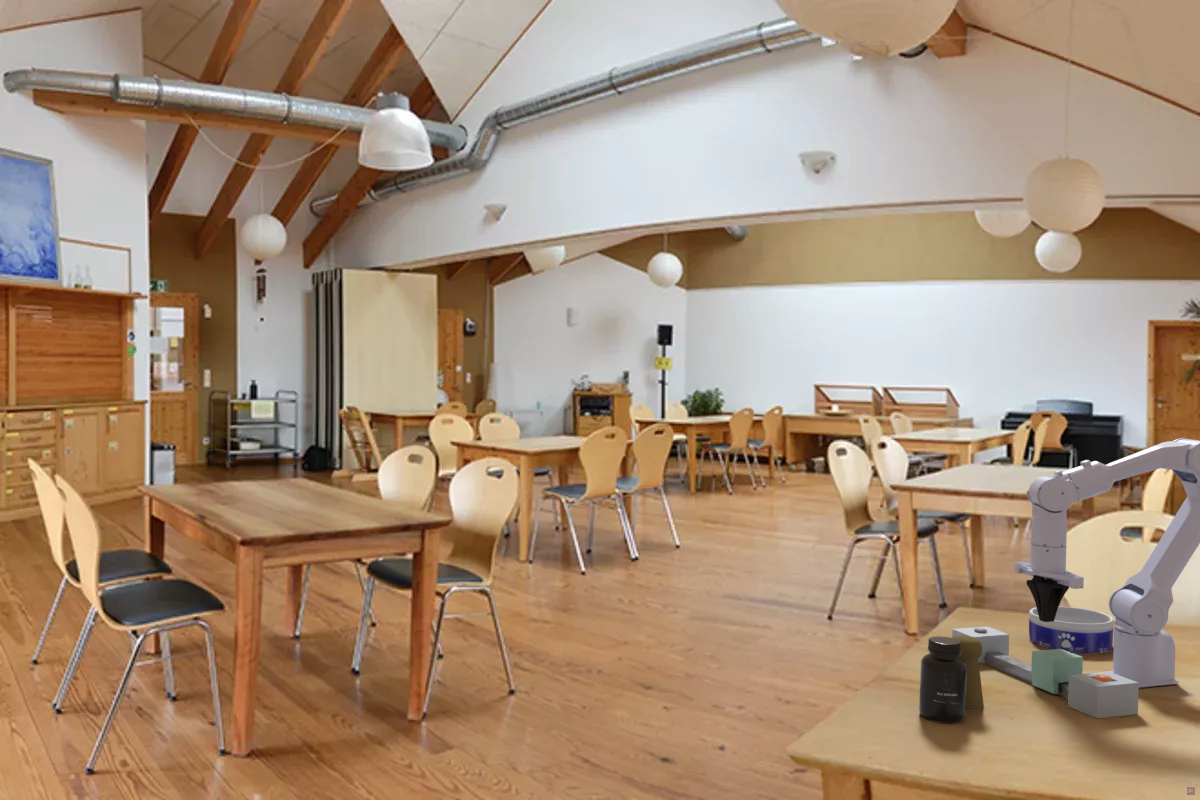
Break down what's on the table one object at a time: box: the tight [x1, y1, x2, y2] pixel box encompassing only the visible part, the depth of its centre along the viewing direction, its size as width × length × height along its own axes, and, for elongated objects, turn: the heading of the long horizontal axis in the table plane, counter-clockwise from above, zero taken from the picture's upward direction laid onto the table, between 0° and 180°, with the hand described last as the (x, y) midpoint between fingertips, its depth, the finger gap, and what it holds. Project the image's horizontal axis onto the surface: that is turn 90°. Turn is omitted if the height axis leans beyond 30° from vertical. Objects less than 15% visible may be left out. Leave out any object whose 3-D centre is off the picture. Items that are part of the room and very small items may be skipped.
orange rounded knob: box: [1096, 674, 1111, 682], centre depth 153 cm, size 2×2×4 cm
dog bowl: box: [1028, 605, 1115, 654], centre depth 193 cm, size 15×15×6 cm
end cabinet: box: [1067, 670, 1140, 719], centre depth 153 cm, size 8×6×5 cm
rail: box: [985, 652, 1069, 700], centre depth 168 cm, size 3×22×2 cm, turn 17°
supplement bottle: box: [918, 635, 967, 724], centre depth 149 cm, size 7×7×12 cm
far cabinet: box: [951, 625, 1010, 664], centre depth 182 cm, size 8×6×5 cm
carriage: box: [1031, 649, 1084, 695], centre depth 163 cm, size 6×5×6 cm
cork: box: [950, 635, 985, 712], centre depth 155 cm, size 6×6×11 cm
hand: (1046, 620), depth 171 cm, fingers closed
